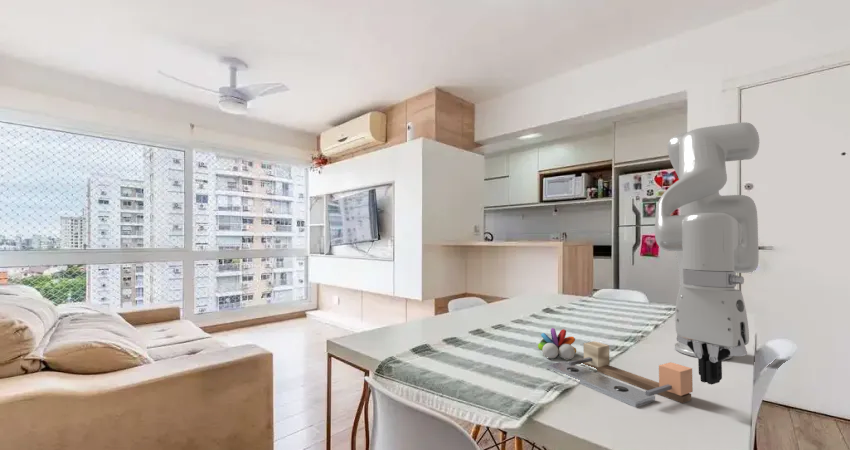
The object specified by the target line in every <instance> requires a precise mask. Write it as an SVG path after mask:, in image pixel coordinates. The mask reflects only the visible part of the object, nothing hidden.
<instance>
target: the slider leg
mask: <svg viewBox="0 0 850 450" xmlns="http://www.w3.org/2000/svg"><path fill="white" fill-rule="evenodd" d="M658 382H659V387H657V388H654V389H651V390H645V392H646V395H647V396H652V395H655V396H656V395H659V394H658V393H661V392H664V391H669V392H671V393H674V394H677V395H680V396H682V395H685V394H688V393H690V394H692V393H693V391H694V390H693V389H694V388H693V368H692V367H688V366H685V365H682V364H678V363H675V362H672V361H670V362H666V363H663V364H658Z"/></svg>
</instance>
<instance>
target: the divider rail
mask: <svg viewBox="0 0 850 450" xmlns="http://www.w3.org/2000/svg"><path fill="white" fill-rule="evenodd" d="M567 362H568V365H570V366H572V365H577V366H578V365H579V364H581V363H583V364H585V365H588V366H591V367H594V368H596V369H597V371H596V372H597V373H601V374H603V375H606V376H607V377H608V376H609V377H610V378H614V379H617V380H619V381H622V382H625V383H628V384H629V385H631V386H634V387H635V386H636V387H637V388H641V389H643V390H645V391H647V390H651V389H654V388H657V387H659V381H655V380H652V379H649V378H647V377H644V376H641V375H638V374H636V373H633V372H629V371H627V370H623V369H621V368H619V367H616V366H612V365H610V345H609V344H605V343H603V342H598V341H596V340H594V341H590V342H588V341H587V342H584V343H583V357H582V358H579V359H575V360H569V361H567ZM657 395H659V396H662V397H664V398H667V399H669V400H673V401H676V402H677V403H681V404H685V403H687V402H690V401H692V393H688V394H685V395H682V396H680V395H677V394H674V393H671V392H669V391H664V392H661V393H658V394H657Z"/></svg>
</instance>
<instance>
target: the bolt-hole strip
mask: <svg viewBox="0 0 850 450" xmlns="http://www.w3.org/2000/svg"><path fill="white" fill-rule="evenodd" d="M568 362H569V361H567V360H563V361H560V362H559V361H558V362H555V363H549V364H546V368H547V367H548V368H550V369H553V370H555V371H558V372H560V373H563V374H566V375H568V376H570V377H573V378H575V379H578V380H580V383H579V384H580V385H582V386H585V387H588V388H589V389H592V390H595V391H597V392H598V393H600V394H601V393H602V394H604V395H606V396H609V397H611V398H613V399H616V400H617V401H620V402H623V403H624V404H627V405H629V406H631V407H634V408H638V407H642V406H645V405H647V404H650V403H653V402H656V394H655V395H652V396H647V395H646V390H645V391H644V390H642V389H639V388H638V387H635V386H633V385H630V384H626V383H623V382H620V381H618V380H615V379H613V378H612V377H608V376H605V375H604V374H603V375H602V374H600V373H599V372H596V371H595V372H594V371H593V370H591V369H590V370H589V369H588V368H584V367H583V366H582V367H581V366H579V365H578V364H577V365H572V366H570V365H568Z"/></svg>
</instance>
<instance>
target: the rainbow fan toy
mask: <svg viewBox="0 0 850 450" xmlns="http://www.w3.org/2000/svg"><path fill="white" fill-rule="evenodd" d="M550 335H551V338H550V337H549V336H548V334H546V333H545V332H542V333H541V334H540V336H541V340H540V341H539V343H537V348H538V350H540V351H542V354H543V356H544V357H545V358H547V357H548V358H547V359H549V358H553V359H556V357H558V355H559V356H560V357H561V359H563V358H565V359H570V360H572V359H573V358H574V357H575V354H577V348H576V347H575V346H573V344H574V343H575V341H576V338H575V337H574V336H567V337H566V335H567V330H566V329H565V328H563V329H561V330H560V331H559V333H558V334H557V331H556V329H555V328H554V327H551V329H550ZM565 359H564V360H565Z"/></svg>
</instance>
